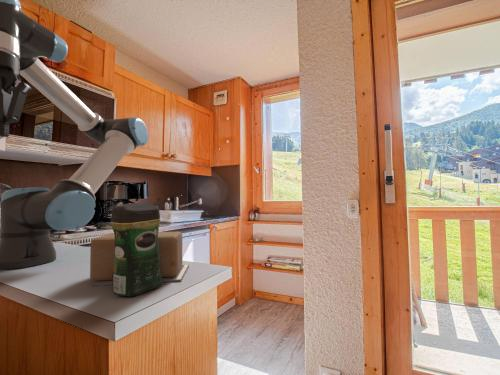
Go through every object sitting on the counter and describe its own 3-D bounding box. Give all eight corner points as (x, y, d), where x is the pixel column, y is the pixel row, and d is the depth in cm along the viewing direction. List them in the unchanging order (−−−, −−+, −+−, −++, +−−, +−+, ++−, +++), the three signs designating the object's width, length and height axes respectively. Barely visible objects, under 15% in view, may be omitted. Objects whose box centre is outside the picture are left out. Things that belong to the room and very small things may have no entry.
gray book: (116, 269, 69) (116, 267, 69) (189, 266, 71) (189, 264, 71) (91, 285, 56) (91, 283, 56) (181, 281, 58) (181, 279, 58)
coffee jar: (147, 277, 60) (146, 201, 60) (167, 285, 55) (166, 202, 55) (105, 292, 52) (104, 203, 52) (124, 302, 47) (123, 205, 47)
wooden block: (88, 282, 57) (176, 278, 59) (88, 239, 57) (176, 236, 60) (107, 270, 67) (182, 266, 69) (107, 233, 67) (182, 230, 70)
